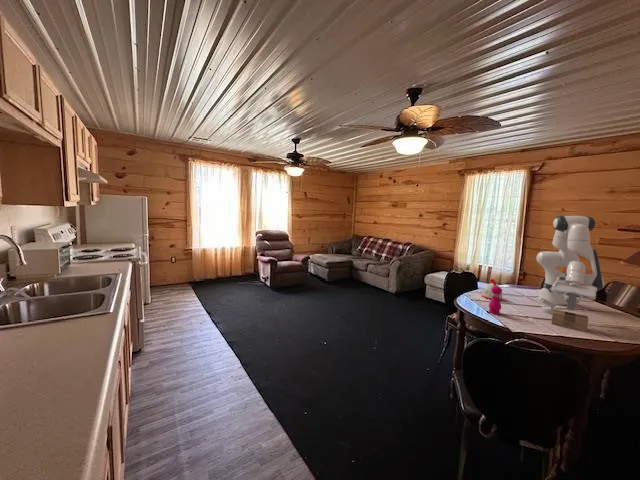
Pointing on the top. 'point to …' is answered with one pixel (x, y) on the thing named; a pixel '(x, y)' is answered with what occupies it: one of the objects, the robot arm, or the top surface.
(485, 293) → the kitchen timer
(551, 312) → the wall hook
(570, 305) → the rail bracket
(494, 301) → the pepper mill
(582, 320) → the wooden block
